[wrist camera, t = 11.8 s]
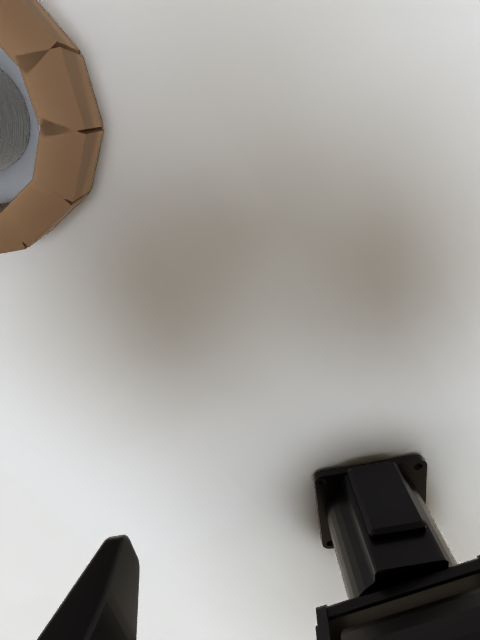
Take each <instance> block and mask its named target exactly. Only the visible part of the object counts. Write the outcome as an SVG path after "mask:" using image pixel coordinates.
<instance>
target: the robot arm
mask: <svg viewBox="0 0 480 640" xmlns="http://www.w3.org/2000/svg"><path fill="white" fill-rule="evenodd" d="M426 478H427V463H426V461H425V459H424V458H423V457H422V456H420V455H413V456H407V457H401V458H395V459H389V460H383V461H377V462H371V463H365V464H360V465H354V466H348V467H342V468H336V469H330V470H324V471H320V472H317V473H316V474H315V475H314V477H313V480H314V488H315V495H316V503H317V511H318V518H319V526H320V534H321V540H322V544H323V547H325V548H328V549H331V548H335V552H336V555H337V559H338V563H339V566H340V570H341V573H342V577H343V581H344V584H345V588H346V592H347V595H348V599H349V600H346V601H343V602H340V603H337V604H334V605H331V606H327V605H324V606H320V607H317V608H316V614H317V624H318V626H316V636H317V640H480V555H478V556H477V559H473V560H470V561H467V562H464V563H461V564H458V565H457V563H456V561H455V559H454V557H453V556H452V554H451V552H450V550H449V548H448V546H447V544H446V543H445V541H444V539H443V537H442V535H441V533H440V531H439V529H438V528H437V526H436V524H435V522H434V520H433V518H432V516H431V514H430V513H429V511H428V509H427V507H426V505H425V503H426ZM323 479H324V480H323ZM138 592H139V560H138V557H137V555H136V553H135V550H134V548H133V546H132V544H131V541H130V539H129V538H128V536H126V535H119V536H113V537H109V538H107V539H106V540H105V541H104V542H103V544H102V545H101V547H100V548H99V550H98V551H97V552H96V554H95V555H94V557H93V558H92V560H91V561H90V563H89V564H88V566H87V567H86V569H85V570H84V572H83V573H82V574H81V576H80V577H79V579H78V580H77V582H76V583H75V585H74V586H73V588H72V589H71V591H70V592H69V593H68V595H67V596H66V598H65V599H64V601H63V602H62V604H61V605H60V607H59V608H58V610H57V611H56V613H55V614H54V615H53V617H52V618H51V620H50V621H49V623H48V624H47V626H46V627H45V629H44V630H43V632H42V633H41V634H40V636H39V637H38V639H37V640H136V634H137V613H138Z"/></svg>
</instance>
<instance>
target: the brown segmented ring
mask: <svg viewBox="0 0 480 640" xmlns="http://www.w3.org/2000/svg"><path fill="white" fill-rule="evenodd" d="M0 47H1V48H2V49H3V50H4V51H5V52H6V54H7V55H8V56H9V57H10V58H11V59H12V60H13V61H14V62H15V63H16V64H17V65H18V66H19V68H20V71H21V74H22V77H23V80H24V83H25V85H26V88H27V91H28V94H29V97H30V100H31V102H32V105H33V108H34V111H35V114H36V117H37V119H38V122H39V125H40V134H39V141H38V147H37V154H36V161H35V167H34V174H33V180H32V181H31V182H30V183H29V184H28V185H27V186H26V187H25V188H24V189H23V190H22V191H21V192H20V193H19V194H18V195H17V196H16V197H15V198H14V200H13V201H12V202H10V203H4V204H0V254H1V253H7V252H12V251H17V250H23V249H26V248H27V247H30V246H31V245H32V244H34V243H35V242H36V241H38V240H39V239H40V238H42V237H43V236H44V235H46V234H47V233H48V232H50V231H51V230H52V229H53V228H54V227H55V226H56V225H57V224H58V223H59V222H60V221H61V220H62V219H63V218H64V217H65V216H66V215H67V214H68V213H69V212H70V211H72V210H73V209H74V208H75V207H76V206H77V205H78V204H79V203H80V202H81V201H82V200H83V199H84V198H85V197H86V196H87V195H88V194H89V192H88V191H90V190H91V188H92V184H93V179H94V174H95V169H96V164H97V160H98V155H99V150H100V145H101V140H102V136H103V130H100V129H97V127H102V126H103V124H102V120H101V117H100V113H99V110H98V106H97V103H96V99H95V96H94V93H93V89H92V86H91V82H90V79H89V75H88V72H87V69H86V65H85V62H84V58H83V56H82V55H79V54H78V53H79V52H80V50H79V49H78V48H77V47H76V46H75V44H74V43H73V42H72V41H71V40H70V39H69V37H68V36H67V35H66V34H65V33H64V32H63V31H62V29H61V28H60V27H59V26H58V25H57V24H56V22H55V21H54V20H53V19H52V18H51V17H50V15H49V14H48V13H47V12H46V11H45V10H44V8H43V7H42V6H41V5H40V4H39V3H38V1H37V0H0Z"/></svg>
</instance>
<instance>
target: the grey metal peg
mask: <svg viewBox="0 0 480 640" xmlns="http://www.w3.org/2000/svg"><path fill="white" fill-rule="evenodd" d="M29 135H30V120H29V114H28V110H27V107H26V104H25V102H24V99H23V97H22V95H21V93H20V91H19V90H18V88H17V87H16V85H15V84H14V82H13V81H12V80H11V79H10V78H9V77H8V75H7V74H6V73H4V72H3V71H2V70H1V69H0V170H2V169H5V168H7V167H9V166H11V165H12V164H14V163H15V162H16V161H17V160H18V159H19V158H20V157H21V155H22V154H23V152H24V151H25V149H26V146H27V144H28V140H29Z"/></svg>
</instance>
